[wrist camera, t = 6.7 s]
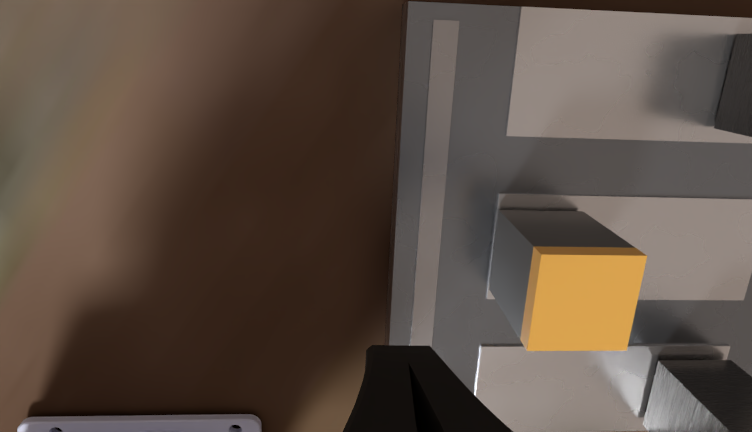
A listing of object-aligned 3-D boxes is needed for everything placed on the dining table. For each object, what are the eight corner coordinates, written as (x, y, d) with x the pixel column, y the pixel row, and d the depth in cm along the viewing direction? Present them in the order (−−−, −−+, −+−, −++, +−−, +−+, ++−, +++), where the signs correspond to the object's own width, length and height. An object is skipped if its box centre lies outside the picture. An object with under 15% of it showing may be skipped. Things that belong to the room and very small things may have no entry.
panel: (381, 408, 22) (395, 527, 17) (402, 4, 18) (432, -13, 12) (756, 403, 24) (881, 512, 18) (875, 27, 19) (1096, 22, 13)
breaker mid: (489, 289, 19) (527, 350, 15) (498, 209, 18) (541, 254, 14) (569, 289, 19) (626, 350, 16) (583, 211, 18) (647, 255, 15)
